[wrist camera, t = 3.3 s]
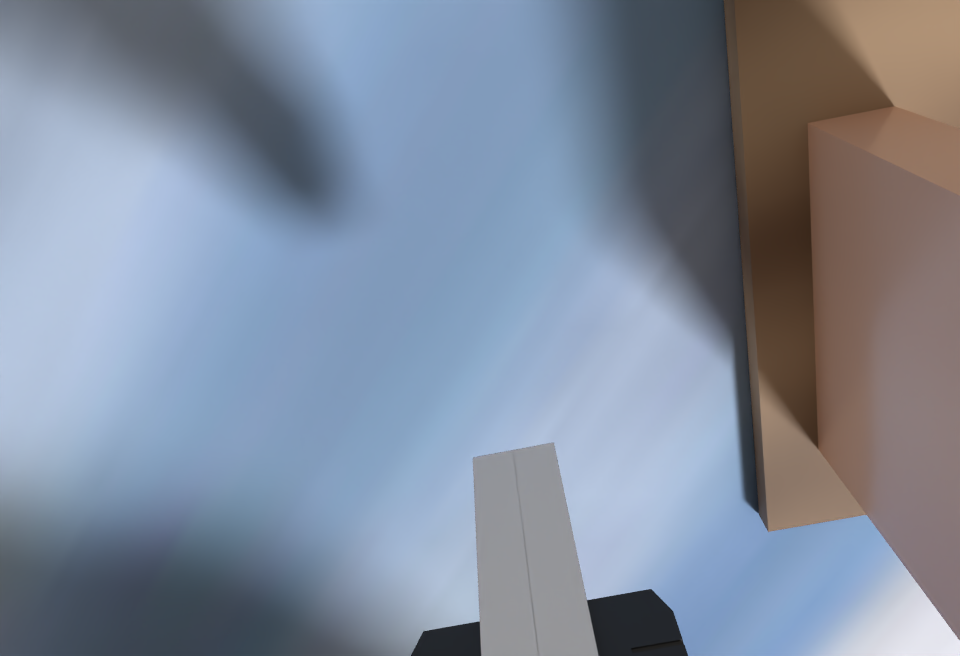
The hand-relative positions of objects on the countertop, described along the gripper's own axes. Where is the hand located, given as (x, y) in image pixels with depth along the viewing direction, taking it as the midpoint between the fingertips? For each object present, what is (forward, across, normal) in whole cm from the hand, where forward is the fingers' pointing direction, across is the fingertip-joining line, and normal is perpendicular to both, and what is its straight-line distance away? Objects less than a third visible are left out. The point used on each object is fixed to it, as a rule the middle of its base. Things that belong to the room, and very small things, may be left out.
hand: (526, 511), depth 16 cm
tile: (+7, -9, 0) cm, 11 cm away
